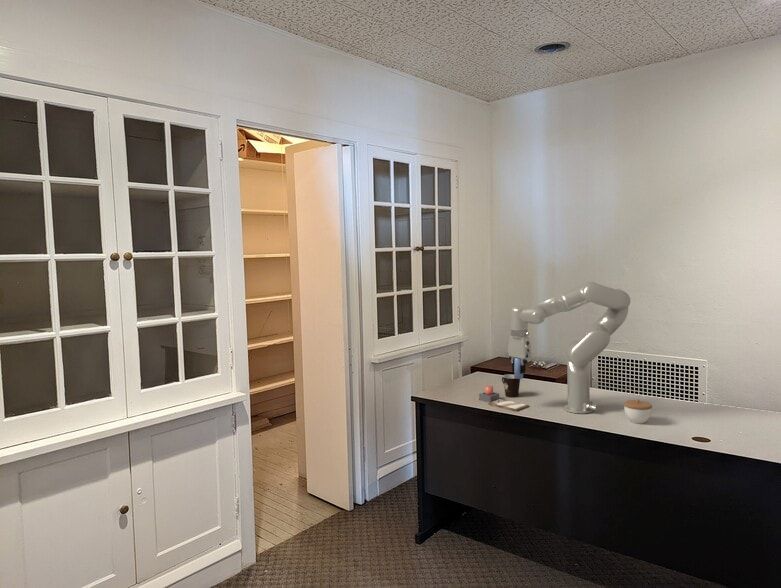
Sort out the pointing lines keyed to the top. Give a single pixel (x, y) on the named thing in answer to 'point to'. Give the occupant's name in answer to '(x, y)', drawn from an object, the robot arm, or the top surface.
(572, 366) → the robot arm
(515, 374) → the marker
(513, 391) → the coffee mug
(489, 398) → the button housing
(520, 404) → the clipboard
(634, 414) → the lidded jar
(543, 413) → the top surface
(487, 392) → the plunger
